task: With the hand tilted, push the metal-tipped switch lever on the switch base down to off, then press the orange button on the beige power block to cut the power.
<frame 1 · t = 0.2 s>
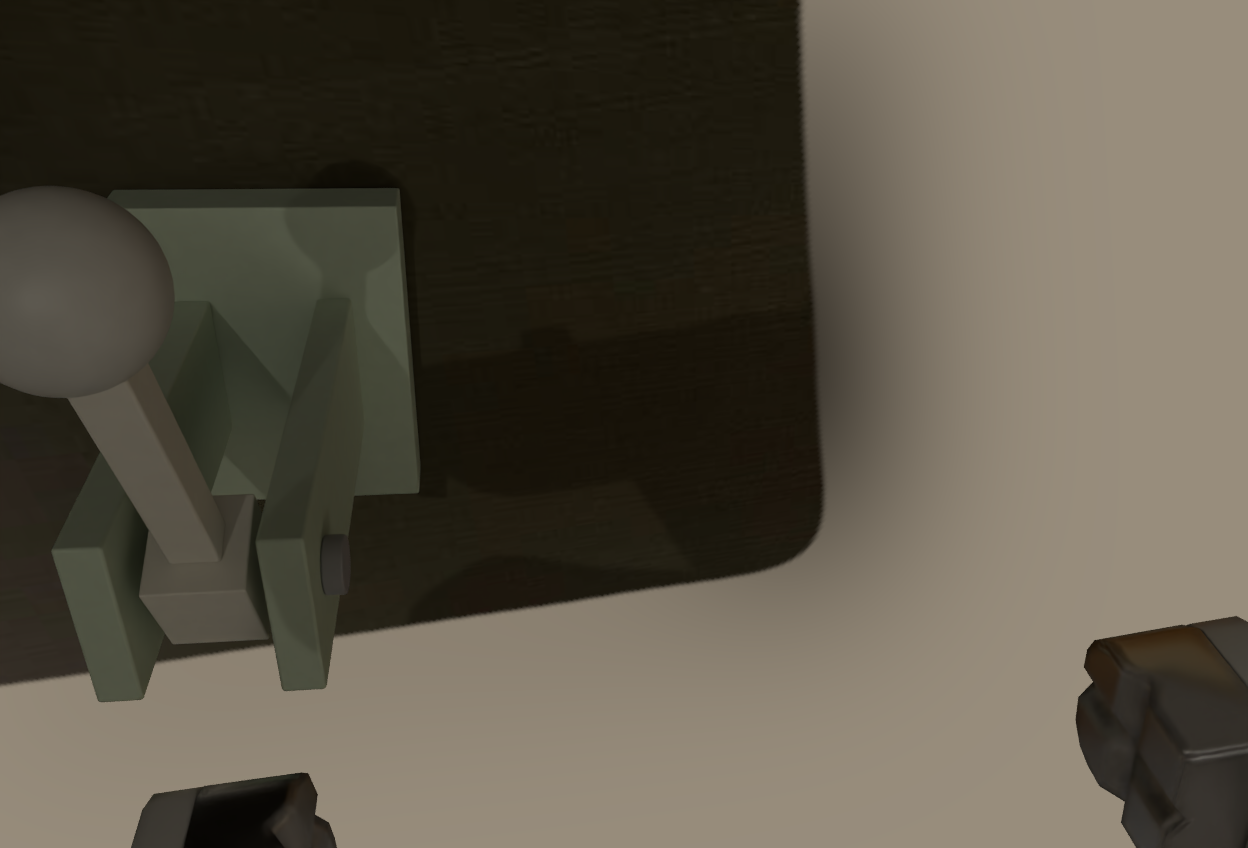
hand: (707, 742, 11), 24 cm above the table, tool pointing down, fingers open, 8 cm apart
switch lever: (150, 456, 21), point 13 cm above the table, hinge at 25.0°
switch base: (280, 341, 34), on the table
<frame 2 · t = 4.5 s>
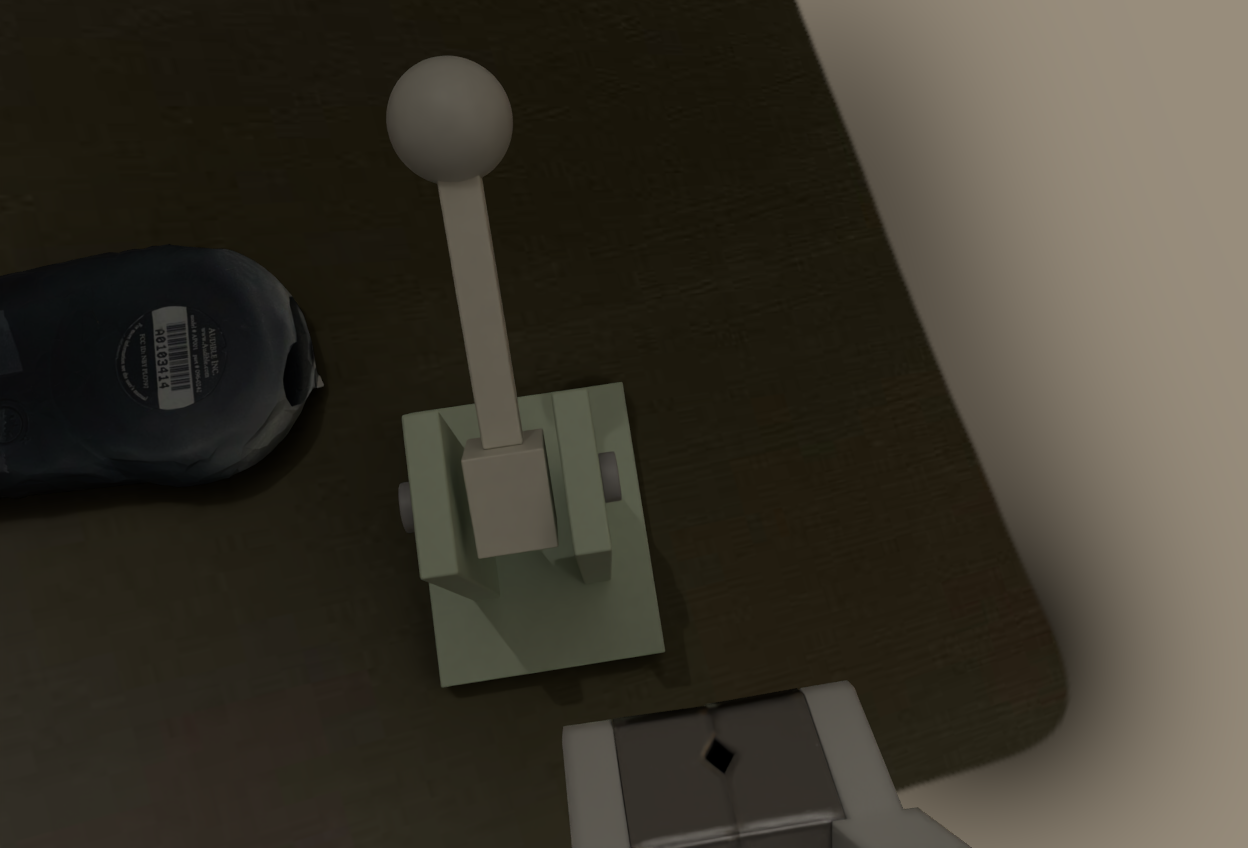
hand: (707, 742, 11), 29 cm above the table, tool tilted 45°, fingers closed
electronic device: (124, 385, 42), on the table
switch lever: (481, 310, 29), point 13 cm above the table, hinge at 25.0°
switch base: (536, 534, 41), on the table
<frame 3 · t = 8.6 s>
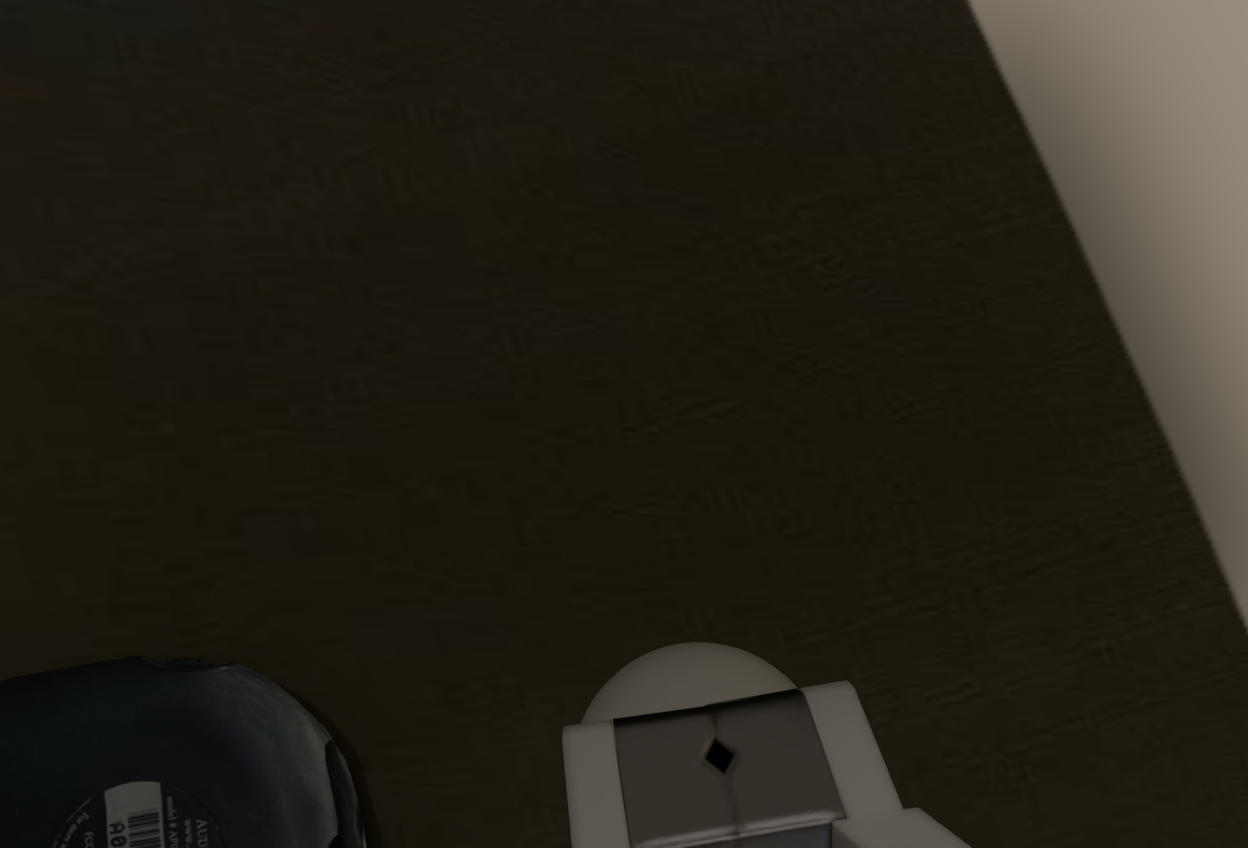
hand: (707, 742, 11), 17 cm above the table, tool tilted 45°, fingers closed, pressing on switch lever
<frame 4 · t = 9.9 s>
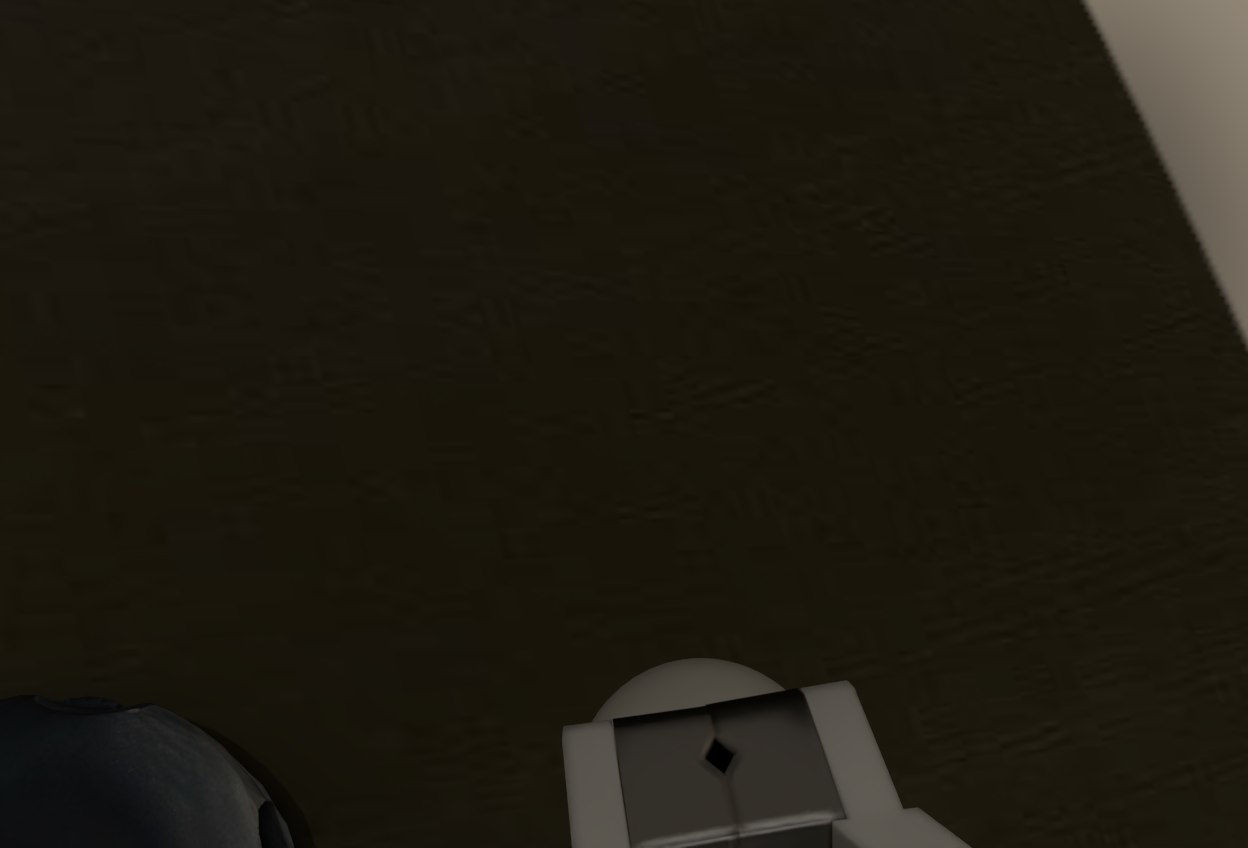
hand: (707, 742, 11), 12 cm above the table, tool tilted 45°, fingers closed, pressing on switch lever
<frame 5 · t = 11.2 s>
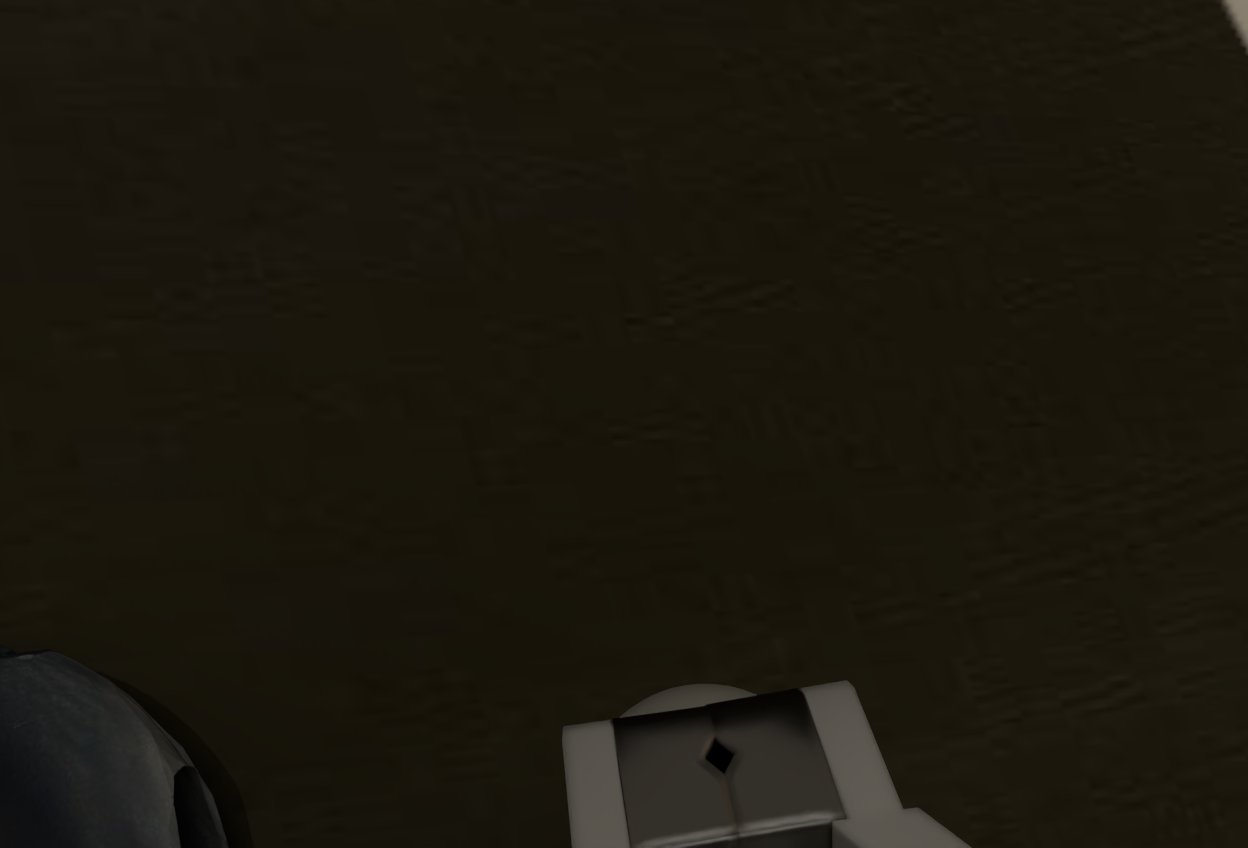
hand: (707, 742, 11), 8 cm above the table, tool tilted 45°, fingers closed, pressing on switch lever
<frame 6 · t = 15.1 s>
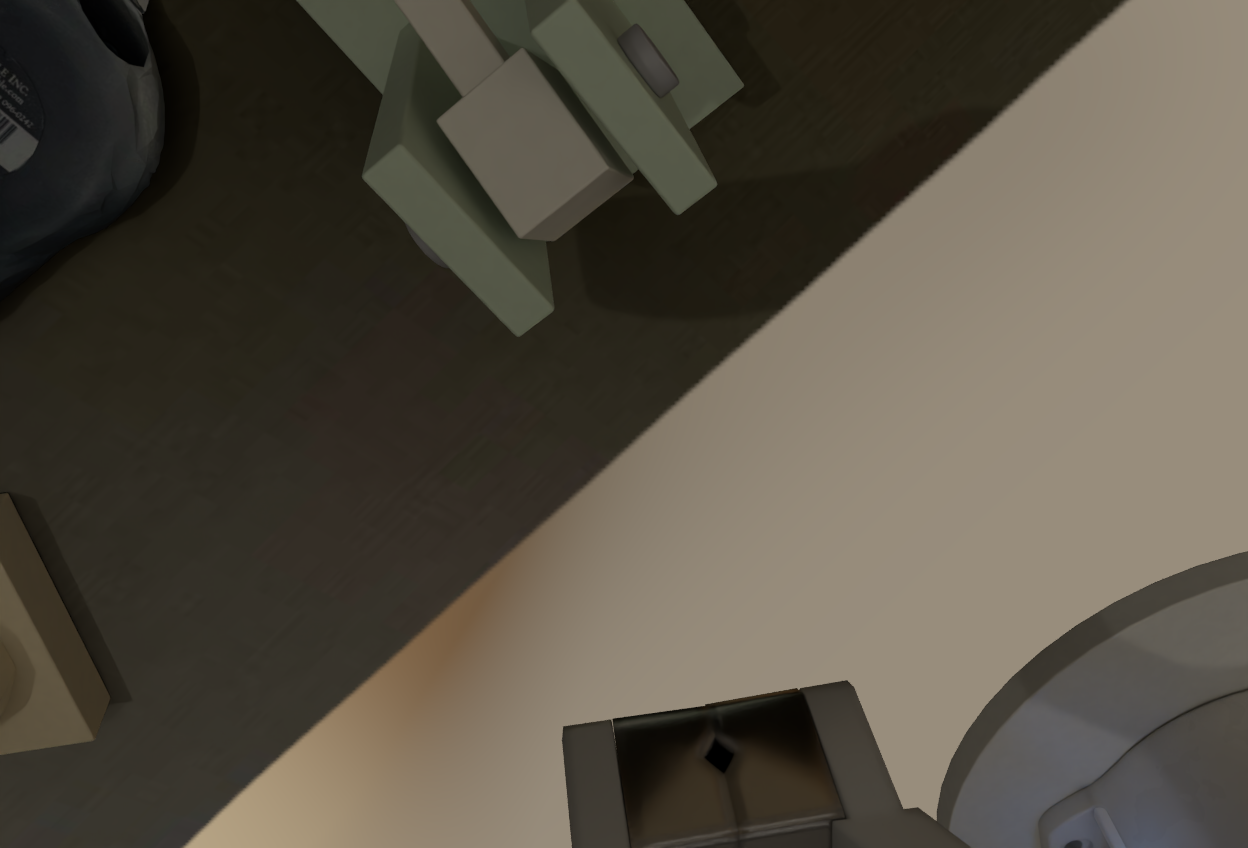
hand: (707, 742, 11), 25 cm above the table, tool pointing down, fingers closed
switch base: (521, 24, 31), on the table
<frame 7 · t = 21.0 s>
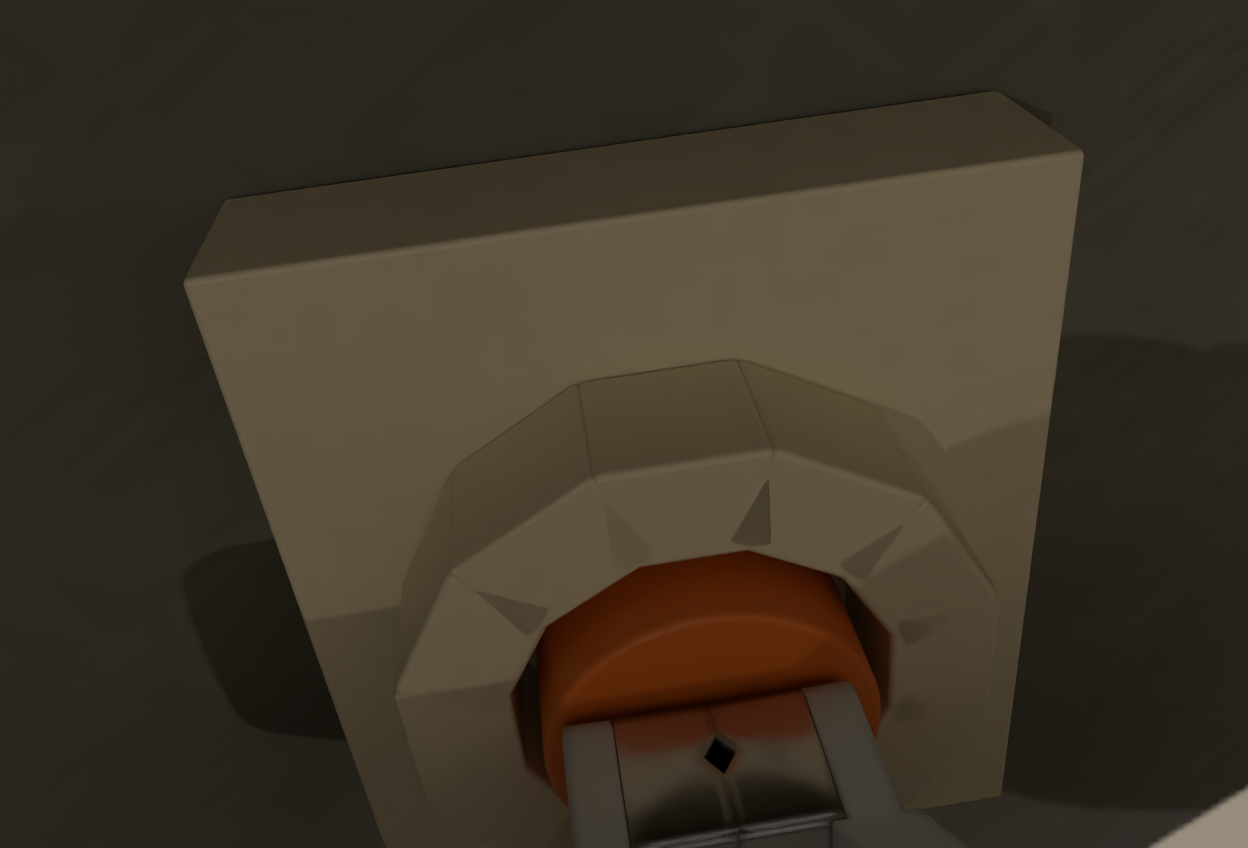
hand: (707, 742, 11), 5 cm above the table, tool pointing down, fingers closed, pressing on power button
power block: (654, 490, 15), on the table
power button: (701, 684, 12), point 4 cm above the table, slide at -0.7 cm, touching gripper
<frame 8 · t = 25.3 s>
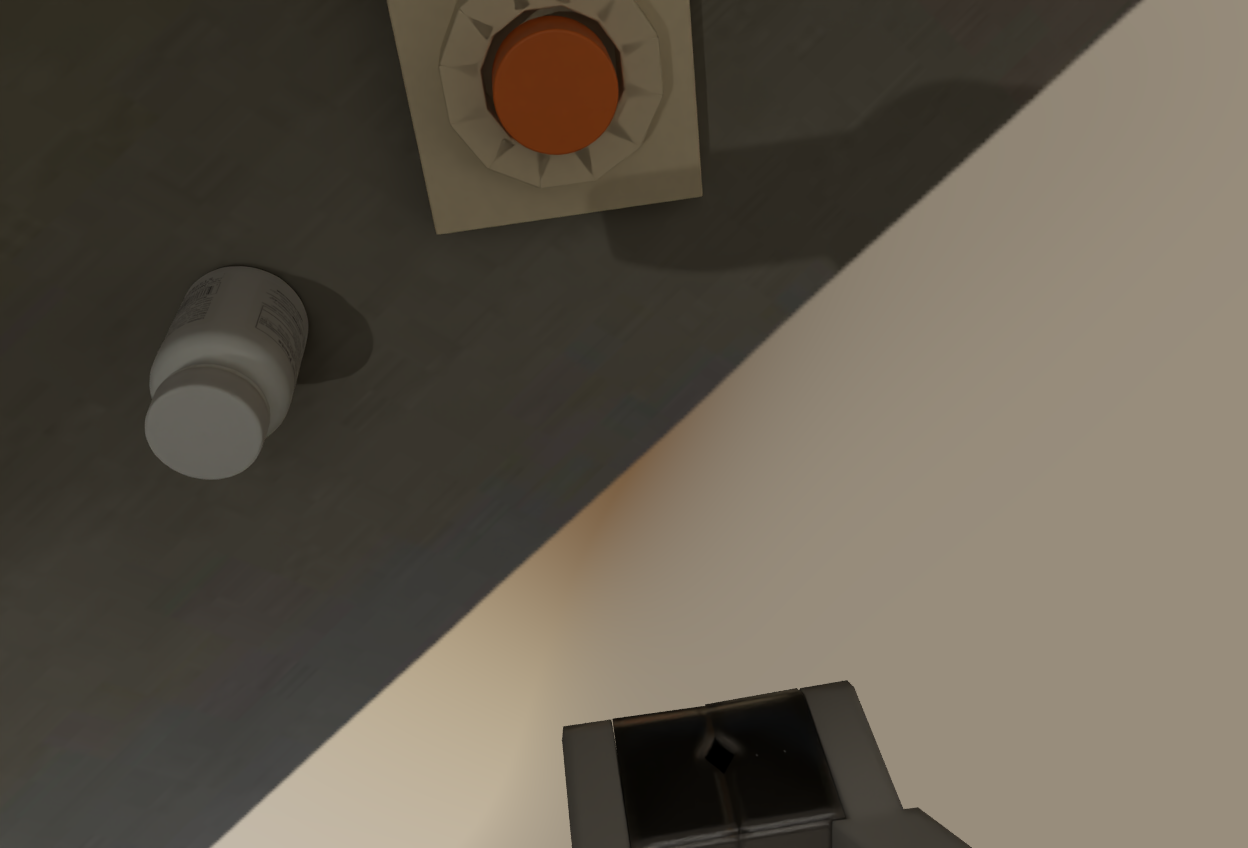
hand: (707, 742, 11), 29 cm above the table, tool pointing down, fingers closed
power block: (545, 47, 36), on the table
power button: (554, 85, 32), point 4 cm above the table, slide at 0.1 cm
pill bottle: (248, 316, 40), on the table
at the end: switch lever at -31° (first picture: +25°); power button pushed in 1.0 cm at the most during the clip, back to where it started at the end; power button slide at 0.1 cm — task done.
